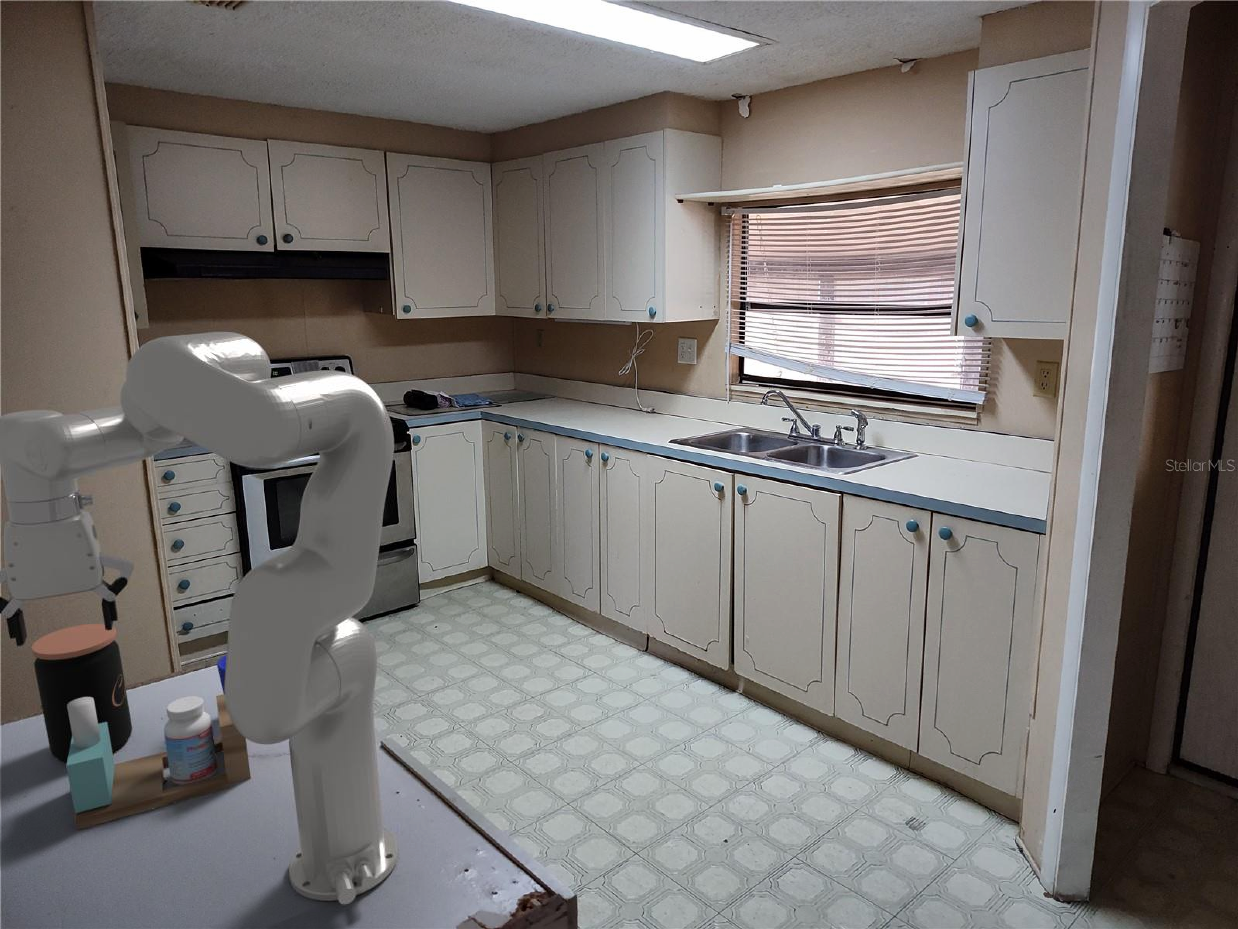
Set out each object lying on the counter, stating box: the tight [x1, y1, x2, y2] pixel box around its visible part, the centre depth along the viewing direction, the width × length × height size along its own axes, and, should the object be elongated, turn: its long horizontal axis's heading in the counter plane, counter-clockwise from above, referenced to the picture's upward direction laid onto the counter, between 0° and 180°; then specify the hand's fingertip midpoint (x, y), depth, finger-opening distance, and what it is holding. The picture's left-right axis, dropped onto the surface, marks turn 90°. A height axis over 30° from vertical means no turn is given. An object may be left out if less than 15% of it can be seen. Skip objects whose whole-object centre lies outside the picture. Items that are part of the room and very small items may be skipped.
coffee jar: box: [30, 623, 133, 764], centre depth 124 cm, size 11×11×18 cm
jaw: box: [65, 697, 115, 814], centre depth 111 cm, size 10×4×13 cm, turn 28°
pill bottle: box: [163, 695, 219, 786], centre depth 118 cm, size 6×6×11 cm
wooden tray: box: [74, 693, 252, 831], centre depth 116 cm, size 12×21×9 cm, turn 118°
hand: (66, 634), depth 108 cm, fingers open, 9 cm apart
